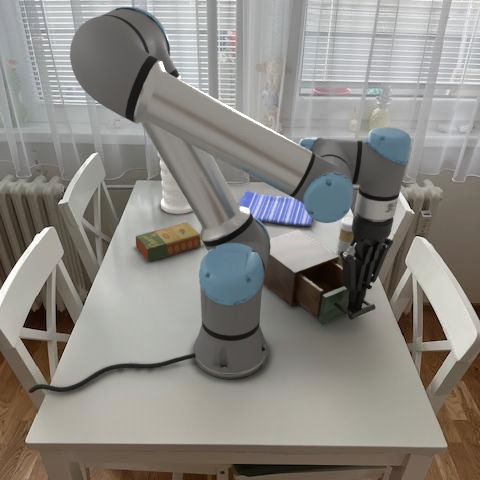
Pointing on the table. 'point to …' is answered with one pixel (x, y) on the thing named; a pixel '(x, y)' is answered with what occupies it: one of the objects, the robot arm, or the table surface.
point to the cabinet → (293, 262)
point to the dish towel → (276, 209)
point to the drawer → (326, 293)
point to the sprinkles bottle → (344, 237)
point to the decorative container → (172, 193)
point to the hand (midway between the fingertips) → (353, 311)
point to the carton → (167, 241)
